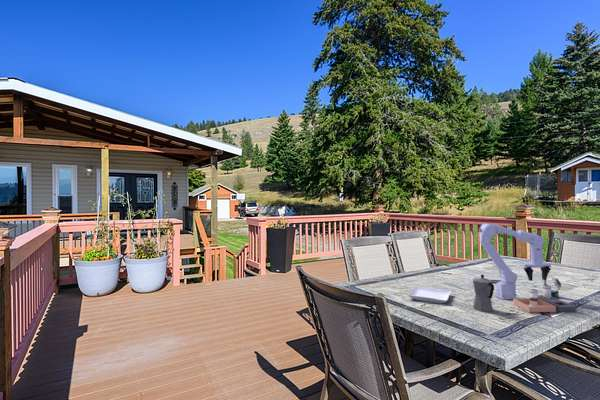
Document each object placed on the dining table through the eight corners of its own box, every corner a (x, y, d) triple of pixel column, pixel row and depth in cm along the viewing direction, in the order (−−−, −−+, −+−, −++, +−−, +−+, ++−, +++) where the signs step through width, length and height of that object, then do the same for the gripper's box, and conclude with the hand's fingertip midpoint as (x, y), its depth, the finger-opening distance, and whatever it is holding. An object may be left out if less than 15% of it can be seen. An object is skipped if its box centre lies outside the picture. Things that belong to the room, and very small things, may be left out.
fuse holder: (559, 311, 172) (559, 306, 172) (533, 299, 192) (533, 295, 192) (576, 311, 172) (576, 306, 172) (548, 299, 192) (548, 295, 192)
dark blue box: (559, 299, 192) (559, 279, 192) (542, 296, 198) (542, 277, 198) (562, 297, 195) (562, 278, 195) (546, 294, 201) (545, 275, 201)
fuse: (546, 303, 185) (545, 286, 185) (541, 301, 189) (540, 285, 189) (553, 303, 185) (552, 286, 185) (548, 301, 189) (548, 285, 189)
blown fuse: (532, 308, 176) (532, 291, 176) (527, 306, 180) (527, 289, 180) (540, 308, 176) (539, 291, 176) (535, 306, 180) (534, 288, 180)
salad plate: (452, 295, 204) (452, 290, 204) (447, 306, 186) (447, 299, 186) (415, 291, 215) (415, 285, 215) (407, 300, 196) (407, 294, 196)
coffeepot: (466, 305, 185) (466, 272, 185) (483, 304, 186) (482, 271, 186) (485, 315, 170) (484, 279, 169) (502, 314, 170) (502, 278, 170)
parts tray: (529, 312, 172) (529, 306, 172) (513, 304, 185) (513, 298, 185) (555, 312, 171) (555, 306, 171) (538, 303, 185) (538, 298, 185)
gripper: (528, 258, 190) (528, 282, 190) (554, 256, 189) (555, 281, 189) (520, 255, 197) (521, 279, 197) (545, 254, 196) (546, 278, 196)
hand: (537, 280), depth 194 cm, fingers open, 7 cm apart
